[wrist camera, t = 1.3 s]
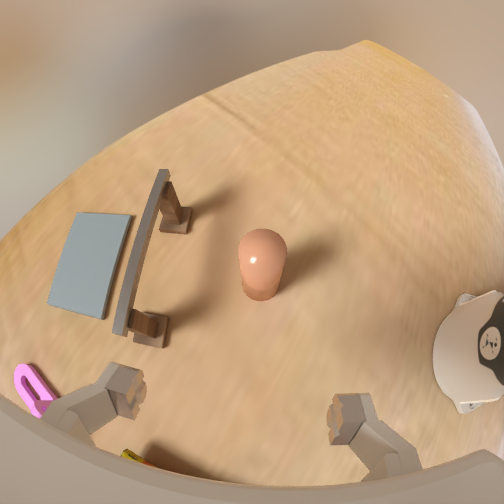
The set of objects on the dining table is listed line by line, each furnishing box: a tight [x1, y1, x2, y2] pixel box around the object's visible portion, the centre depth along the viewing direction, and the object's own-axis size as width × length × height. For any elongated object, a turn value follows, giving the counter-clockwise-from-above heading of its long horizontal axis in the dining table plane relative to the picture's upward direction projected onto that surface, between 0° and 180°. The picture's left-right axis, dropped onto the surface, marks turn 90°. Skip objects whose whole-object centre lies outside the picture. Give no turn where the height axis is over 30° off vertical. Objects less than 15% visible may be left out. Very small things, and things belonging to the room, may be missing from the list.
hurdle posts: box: [129, 182, 192, 348], centre depth 33 cm, size 4×20×8 cm, turn 174°
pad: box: [47, 213, 132, 320], centre depth 37 cm, size 11×16×1 cm
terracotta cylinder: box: [238, 229, 287, 301], centre depth 31 cm, size 5×5×10 cm
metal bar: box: [112, 169, 171, 337], centre depth 29 cm, size 1×20×1 cm, turn 174°
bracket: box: [14, 364, 58, 419], centre depth 25 cm, size 13×6×7 cm, turn 57°
